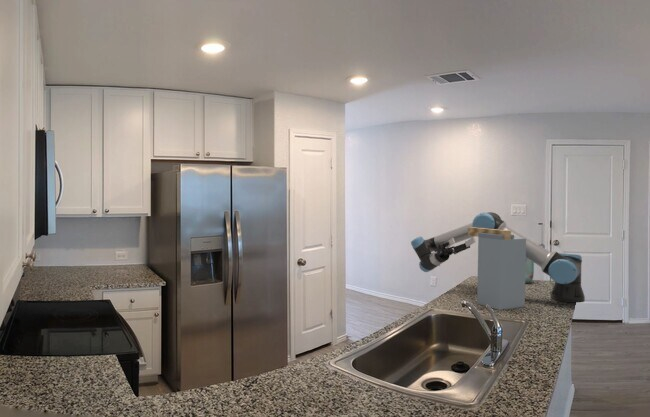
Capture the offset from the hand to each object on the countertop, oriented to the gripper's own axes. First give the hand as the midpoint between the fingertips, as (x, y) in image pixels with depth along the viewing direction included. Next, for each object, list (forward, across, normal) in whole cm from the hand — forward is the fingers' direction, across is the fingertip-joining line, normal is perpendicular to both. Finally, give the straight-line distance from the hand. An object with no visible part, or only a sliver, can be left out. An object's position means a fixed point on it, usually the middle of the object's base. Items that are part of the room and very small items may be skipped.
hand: (464, 239), depth 239 cm
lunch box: (-33, -56, -15) cm, 67 cm away
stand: (+3, -4, -36) cm, 36 cm away
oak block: (+15, 0, -6) cm, 16 cm away
